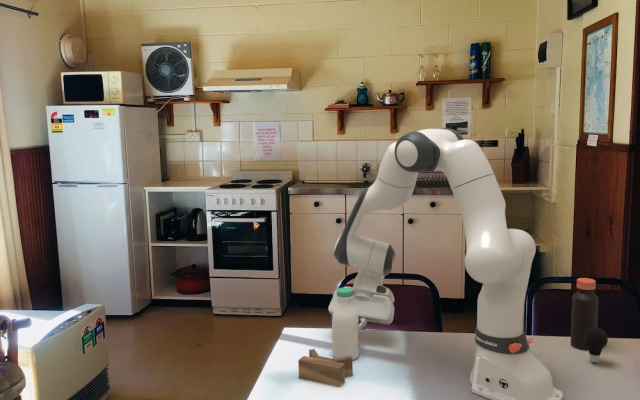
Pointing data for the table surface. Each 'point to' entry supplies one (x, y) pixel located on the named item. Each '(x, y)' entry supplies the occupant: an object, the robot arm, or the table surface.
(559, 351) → the table surface
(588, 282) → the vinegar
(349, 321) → the milk bottle
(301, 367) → the cradle
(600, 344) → the light bulb
